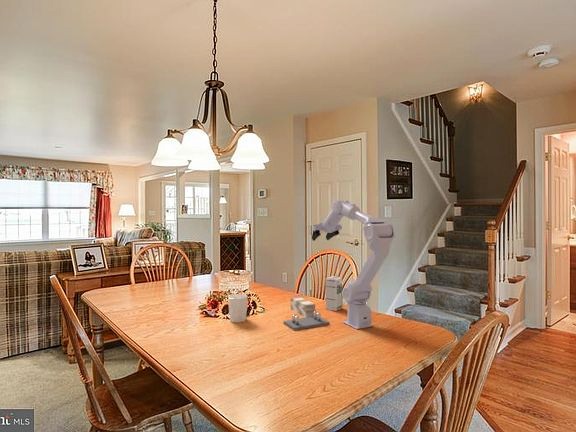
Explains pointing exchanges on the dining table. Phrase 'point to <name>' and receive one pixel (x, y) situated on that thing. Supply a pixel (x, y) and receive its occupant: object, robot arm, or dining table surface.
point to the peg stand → (306, 322)
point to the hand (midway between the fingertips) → (320, 238)
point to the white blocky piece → (302, 307)
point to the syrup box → (334, 293)
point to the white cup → (237, 307)
